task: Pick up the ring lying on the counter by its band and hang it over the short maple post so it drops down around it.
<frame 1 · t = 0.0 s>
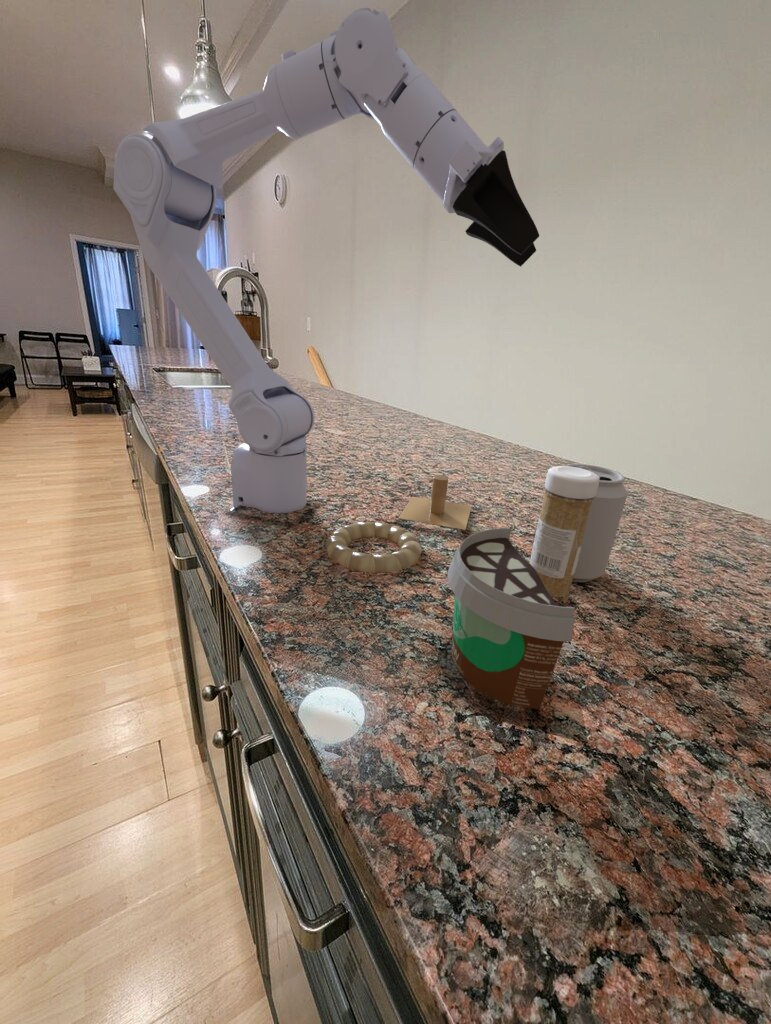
hand: (529, 252, 44), 32 cm above the table, tool tilted 50°, fingers open, 7 cm apart
food container: (474, 674, 35), on the table
ring: (373, 547, 51), point 1 cm above the table
can: (567, 570, 52), on the table
spice jar: (544, 596, 46), on the table
post: (435, 519, 63), on the table
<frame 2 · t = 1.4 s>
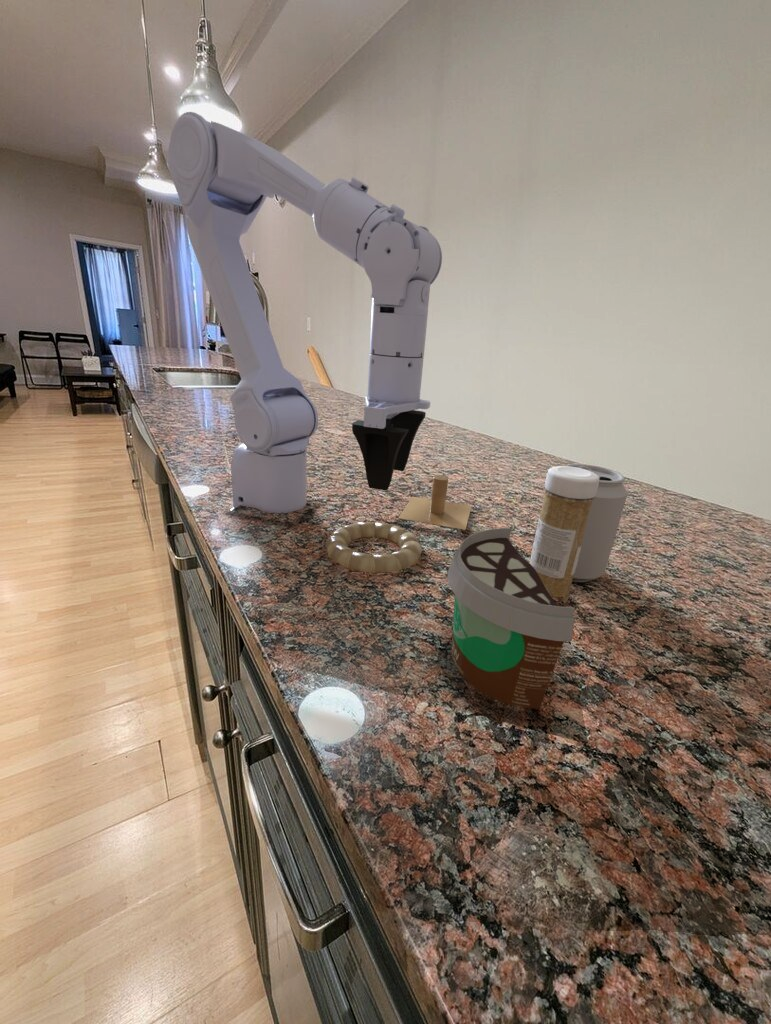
hand: (387, 478, 52), 8 cm above the table, tool pointing down, fingers open, 7 cm apart
nothing on the table moved.
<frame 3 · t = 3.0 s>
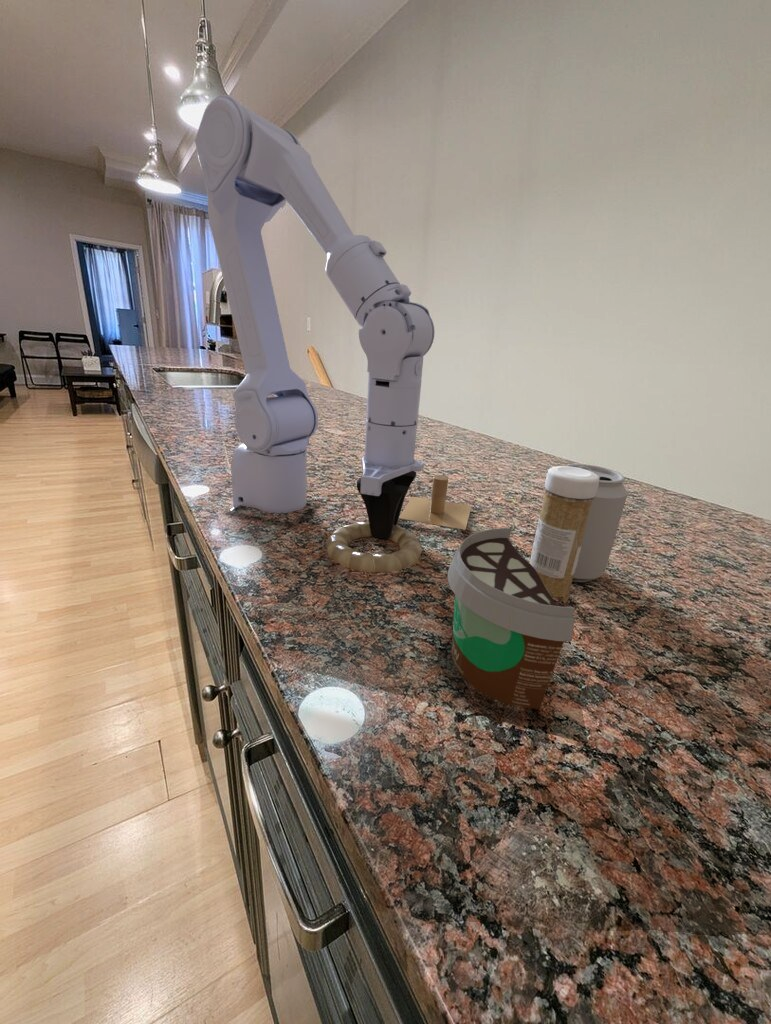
hand: (383, 531, 55), 1 cm above the table, tool pointing down, fingers closed on ring, 2 cm apart
ring: (374, 547, 51), point 1 cm above the table, touching gripper
everything else where it was.
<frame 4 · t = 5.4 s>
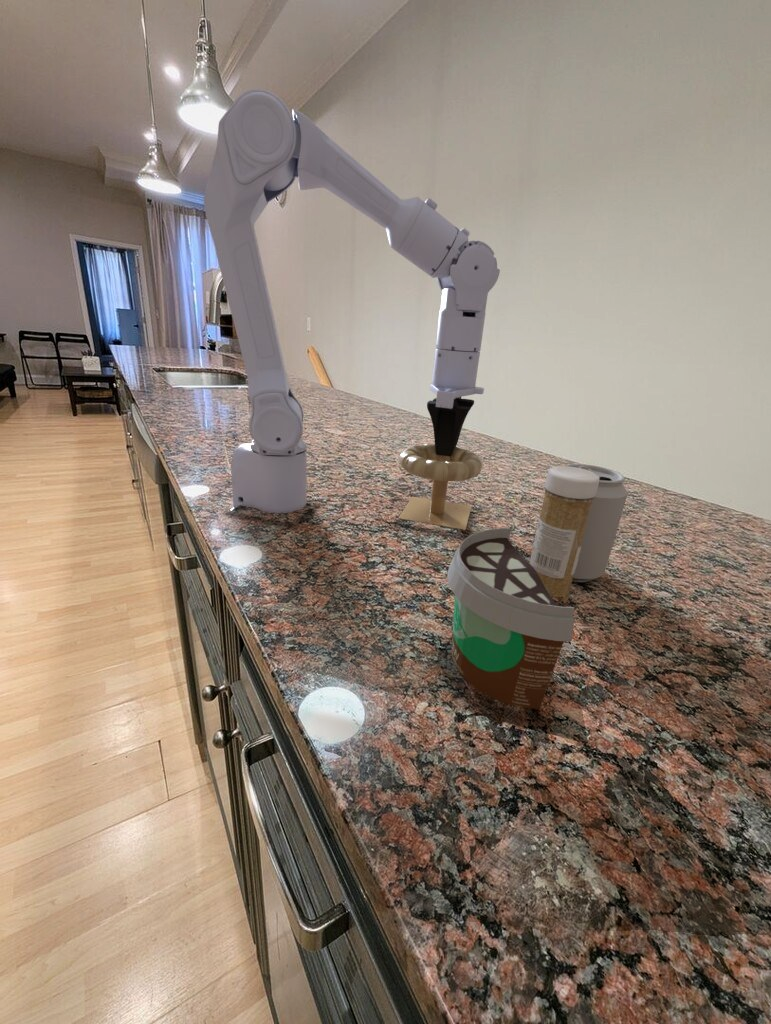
hand: (445, 452, 63), 9 cm above the table, tool pointing down, fingers closed on ring, 2 cm apart
ring: (440, 461, 59), point 9 cm above the table, touching gripper
everything else where it was.
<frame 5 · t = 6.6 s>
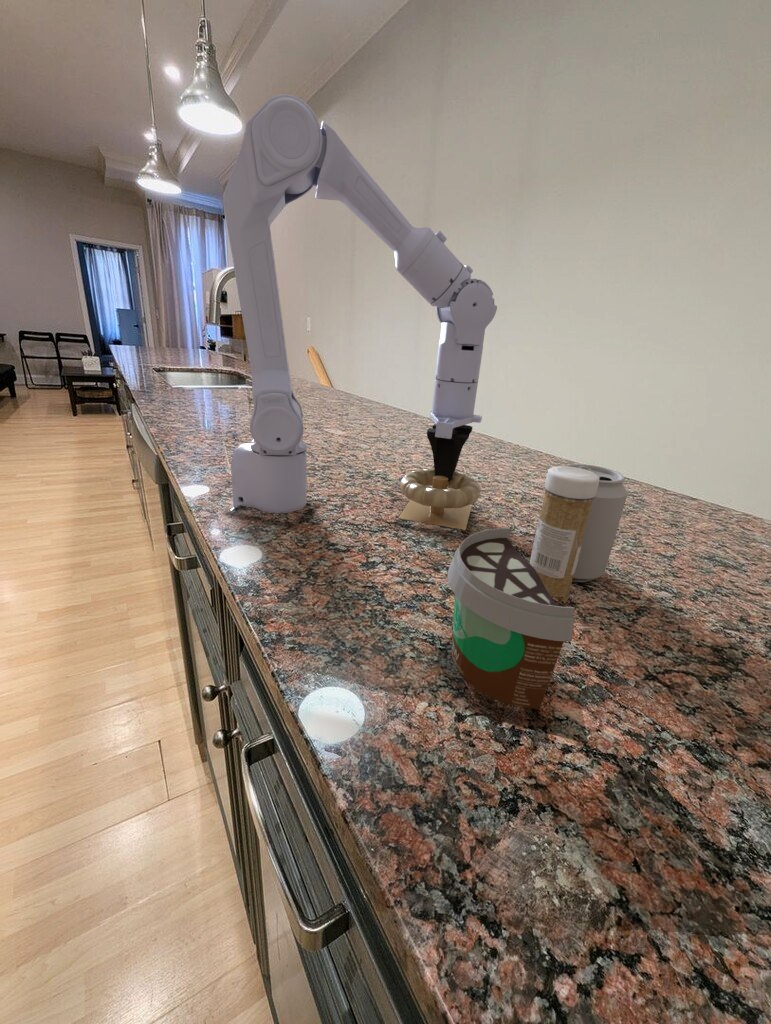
hand: (444, 477, 65), 5 cm above the table, tool pointing down, fingers closed on ring, 2 cm apart
ring: (440, 487, 61), point 5 cm above the table, touching gripper
everything else where it was.
when the fingers open (3 cm above the table, at t = 7.6 s): ring stays where it is, resting on post.
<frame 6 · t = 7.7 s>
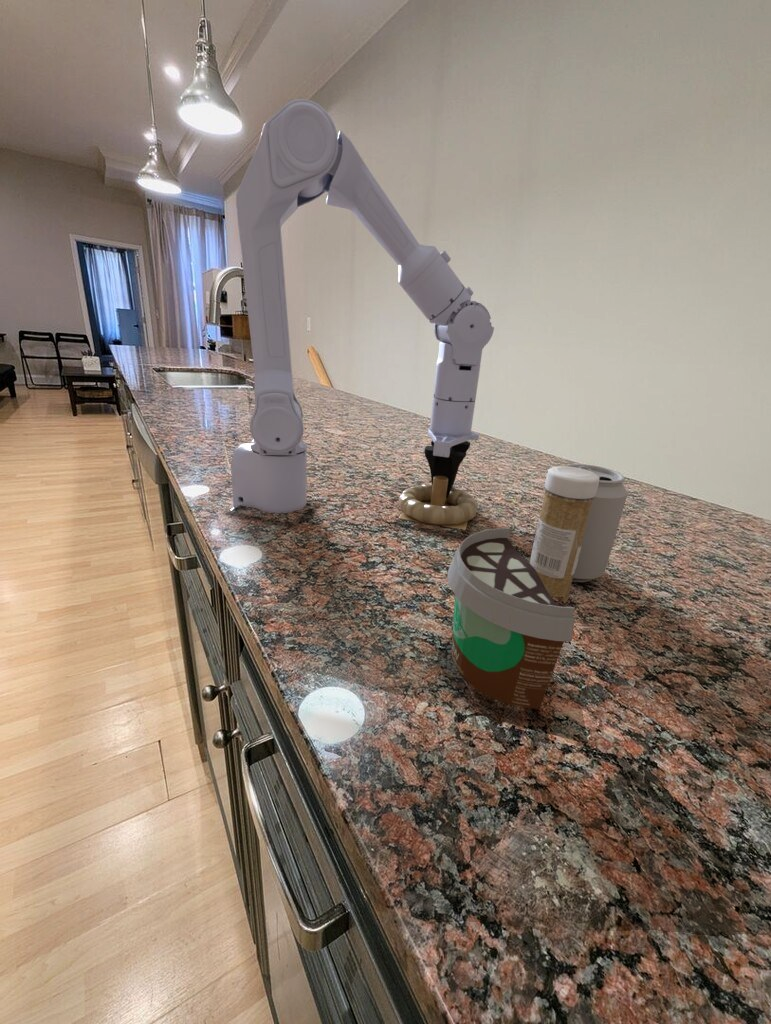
hand: (442, 492, 66), 3 cm above the table, tool pointing down, fingers open, 3 cm apart
ring: (437, 503, 62), point 2 cm above the table, touching post
everything else where it was.
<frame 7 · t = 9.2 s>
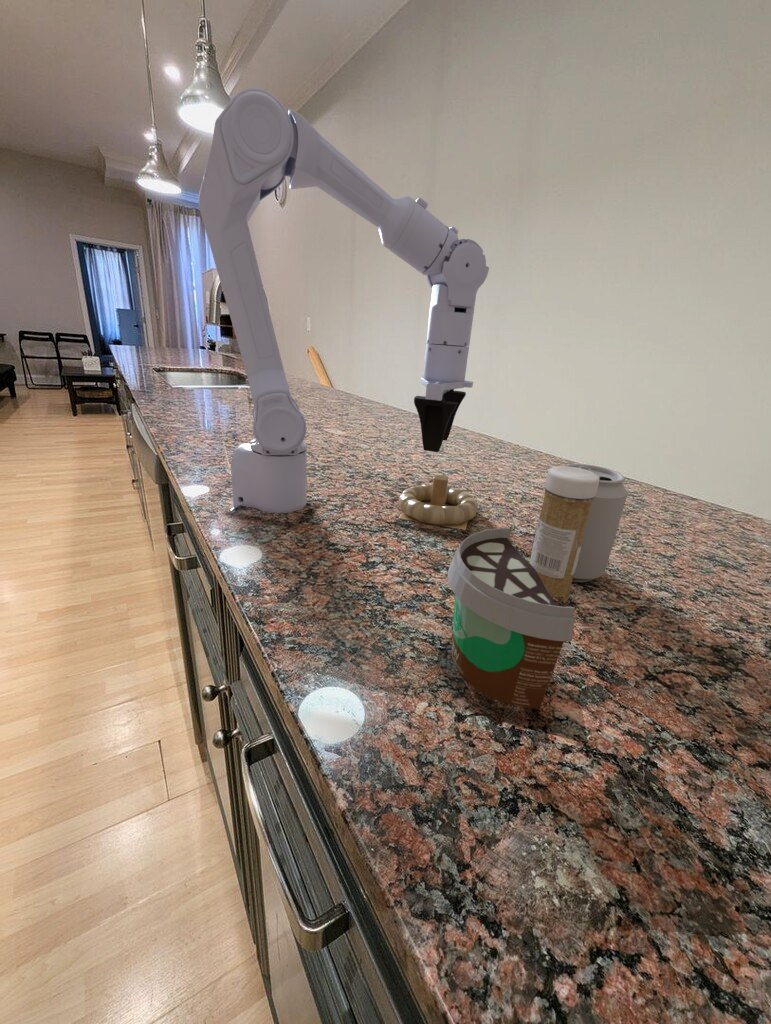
hand: (436, 444, 65), 9 cm above the table, tool pointing down, fingers open, 7 cm apart
nothing on the table moved.
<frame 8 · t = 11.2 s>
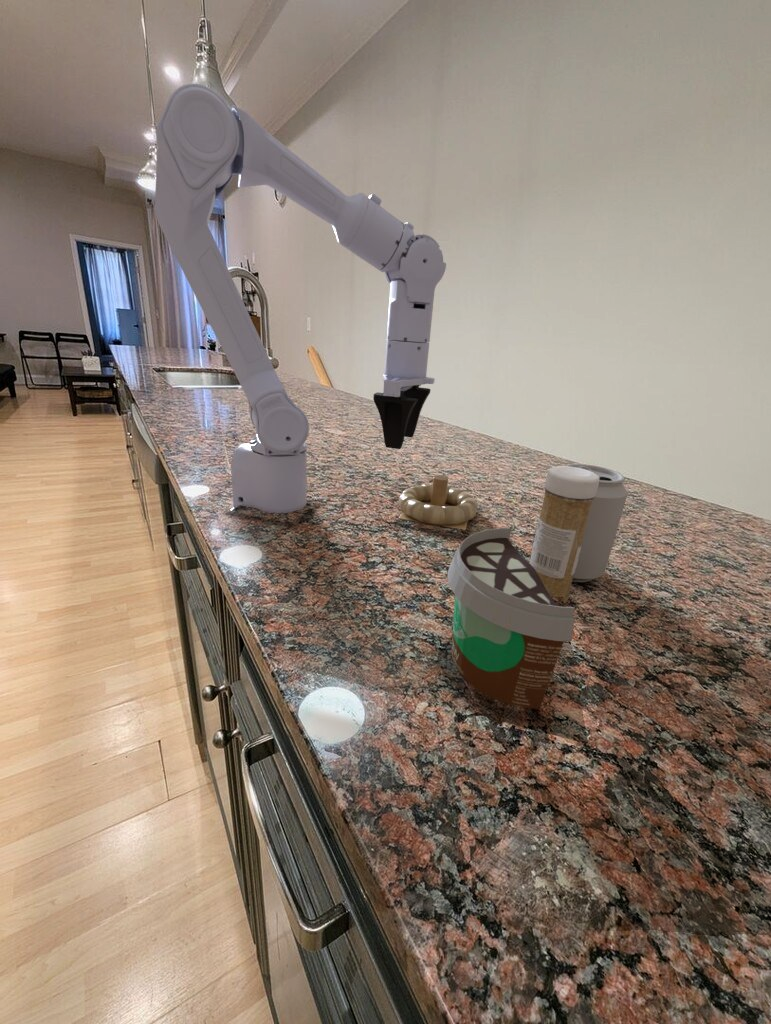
hand: (399, 441, 64), 9 cm above the table, tool pointing down, fingers open, 7 cm apart
nothing on the table moved.
at the end: ring 0.1 cm from the post (horizontally); ring point 2.4 cm above the table; the gripper is holding nothing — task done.
